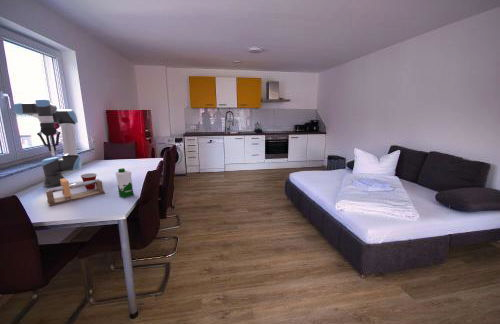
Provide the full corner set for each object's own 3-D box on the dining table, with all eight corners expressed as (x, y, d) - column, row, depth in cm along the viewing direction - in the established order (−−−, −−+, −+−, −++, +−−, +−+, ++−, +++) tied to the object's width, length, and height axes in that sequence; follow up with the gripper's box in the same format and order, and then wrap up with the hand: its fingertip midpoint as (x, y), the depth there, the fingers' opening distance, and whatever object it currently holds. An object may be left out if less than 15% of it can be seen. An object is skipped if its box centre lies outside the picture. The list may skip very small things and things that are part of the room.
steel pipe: (49, 192, 155) (48, 187, 154) (98, 182, 176) (97, 178, 175) (49, 193, 153) (48, 188, 152) (99, 183, 174) (98, 179, 173)
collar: (62, 193, 163) (59, 179, 161) (67, 192, 166) (65, 178, 163) (65, 197, 156) (62, 182, 154) (71, 196, 158) (68, 181, 156)
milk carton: (128, 192, 174) (125, 167, 170) (135, 194, 169) (132, 168, 165) (117, 196, 167) (113, 170, 163) (124, 198, 162) (120, 171, 158)
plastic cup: (90, 191, 178) (88, 176, 175) (79, 190, 180) (76, 176, 178) (102, 187, 188) (100, 173, 186) (91, 186, 191) (88, 172, 188)
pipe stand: (47, 201, 158) (44, 189, 156) (100, 190, 181) (98, 179, 179) (50, 206, 150) (47, 193, 148) (105, 193, 173) (103, 182, 171)
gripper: (34, 122, 151) (42, 157, 156) (59, 122, 161) (66, 154, 166) (33, 122, 156) (40, 156, 161) (57, 121, 166) (63, 153, 171)
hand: (53, 155), depth 163 cm, fingers closed
